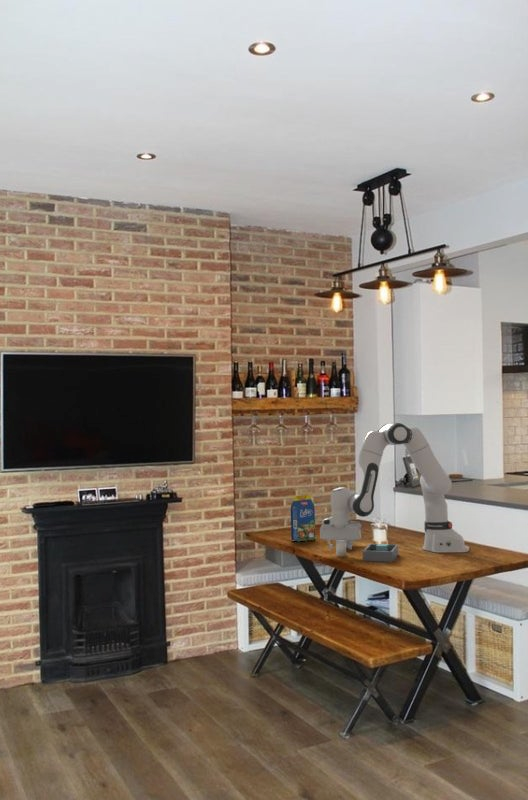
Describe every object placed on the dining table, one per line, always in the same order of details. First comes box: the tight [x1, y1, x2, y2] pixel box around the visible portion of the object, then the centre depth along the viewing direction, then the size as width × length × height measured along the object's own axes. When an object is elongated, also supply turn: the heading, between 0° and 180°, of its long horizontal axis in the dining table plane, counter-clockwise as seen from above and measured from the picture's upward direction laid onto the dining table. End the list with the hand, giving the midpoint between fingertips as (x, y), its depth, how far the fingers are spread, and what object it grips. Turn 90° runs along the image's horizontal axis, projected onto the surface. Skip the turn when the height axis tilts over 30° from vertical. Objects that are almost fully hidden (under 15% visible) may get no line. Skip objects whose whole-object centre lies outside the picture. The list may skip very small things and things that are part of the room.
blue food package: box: [290, 493, 316, 543], centre depth 407 cm, size 6×12×25 cm, turn 124°
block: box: [376, 543, 389, 551], centre depth 358 cm, size 5×5×5 cm
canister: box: [335, 540, 347, 557], centre depth 363 cm, size 5×5×7 cm
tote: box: [362, 543, 399, 563], centre depth 354 cm, size 14×18×5 cm
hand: (340, 548), depth 363 cm, fingers open, 8 cm apart
